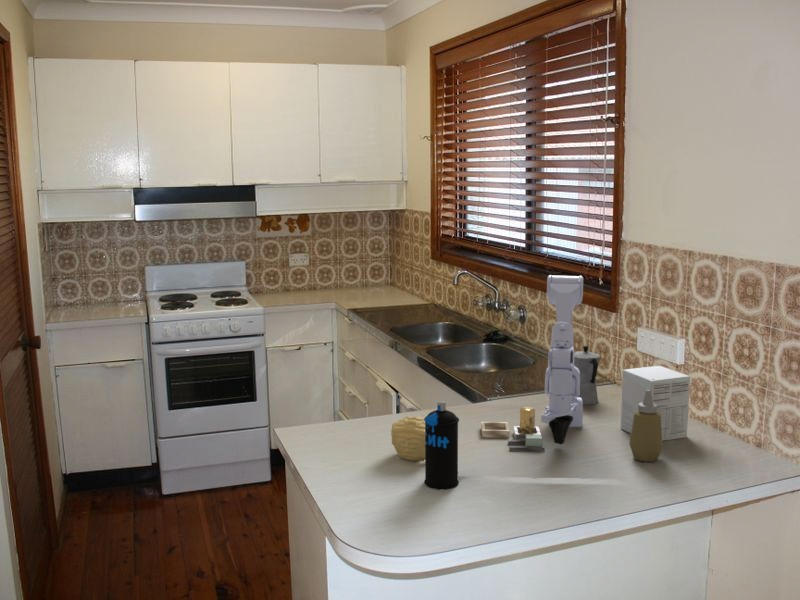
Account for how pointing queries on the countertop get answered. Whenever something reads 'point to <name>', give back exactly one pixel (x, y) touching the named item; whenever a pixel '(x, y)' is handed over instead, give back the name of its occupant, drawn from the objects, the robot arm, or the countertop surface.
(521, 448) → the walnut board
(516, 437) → the steel socket
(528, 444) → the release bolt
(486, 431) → the ash socket frame
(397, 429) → the sculpture
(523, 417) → the brass cylinder plug
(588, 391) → the coffeepot
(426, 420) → the aerosol can
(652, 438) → the squeeze bottle
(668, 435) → the supplement box
